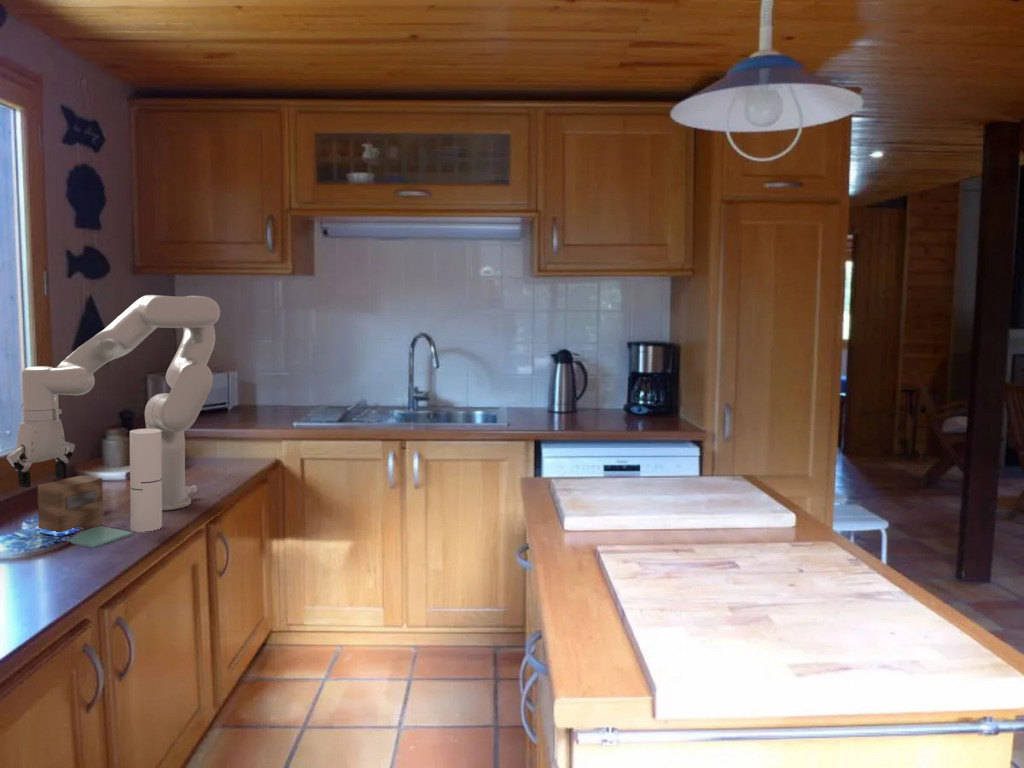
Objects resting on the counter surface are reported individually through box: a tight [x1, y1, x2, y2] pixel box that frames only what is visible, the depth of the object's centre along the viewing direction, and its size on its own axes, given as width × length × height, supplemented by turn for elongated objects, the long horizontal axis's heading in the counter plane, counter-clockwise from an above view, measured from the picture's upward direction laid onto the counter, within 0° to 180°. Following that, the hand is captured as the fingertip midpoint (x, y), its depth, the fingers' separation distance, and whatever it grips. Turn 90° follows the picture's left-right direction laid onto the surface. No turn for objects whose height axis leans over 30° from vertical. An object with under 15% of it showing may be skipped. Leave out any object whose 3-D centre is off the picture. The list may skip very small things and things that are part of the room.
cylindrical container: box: [129, 428, 163, 533], centre depth 186 cm, size 7×7×25 cm
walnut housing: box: [37, 474, 104, 532], centre depth 184 cm, size 12×8×12 cm, turn 159°
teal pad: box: [69, 525, 134, 549], centre depth 179 cm, size 11×11×1 cm
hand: (43, 482), depth 187 cm, fingers open, 9 cm apart
